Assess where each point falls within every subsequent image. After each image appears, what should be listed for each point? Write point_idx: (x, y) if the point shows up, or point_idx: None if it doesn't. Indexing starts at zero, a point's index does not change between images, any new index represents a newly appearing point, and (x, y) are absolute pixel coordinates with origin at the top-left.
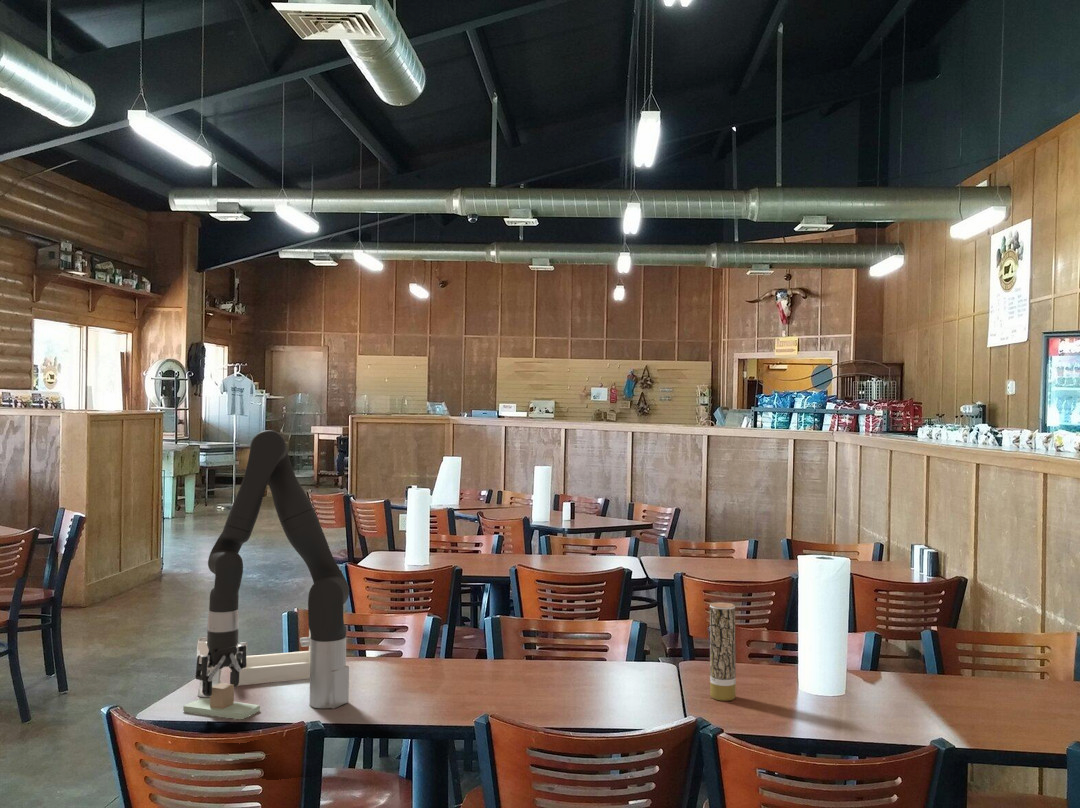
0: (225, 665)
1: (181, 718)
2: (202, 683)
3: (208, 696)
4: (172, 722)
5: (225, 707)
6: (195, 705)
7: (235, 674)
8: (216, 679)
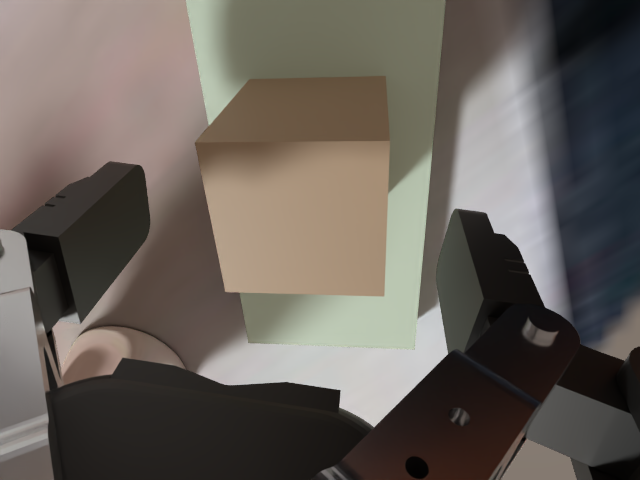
0: (205, 396)
1: None
2: None
3: (168, 350)
4: (595, 273)
5: (353, 76)
6: (384, 299)
7: (72, 241)
8: None
